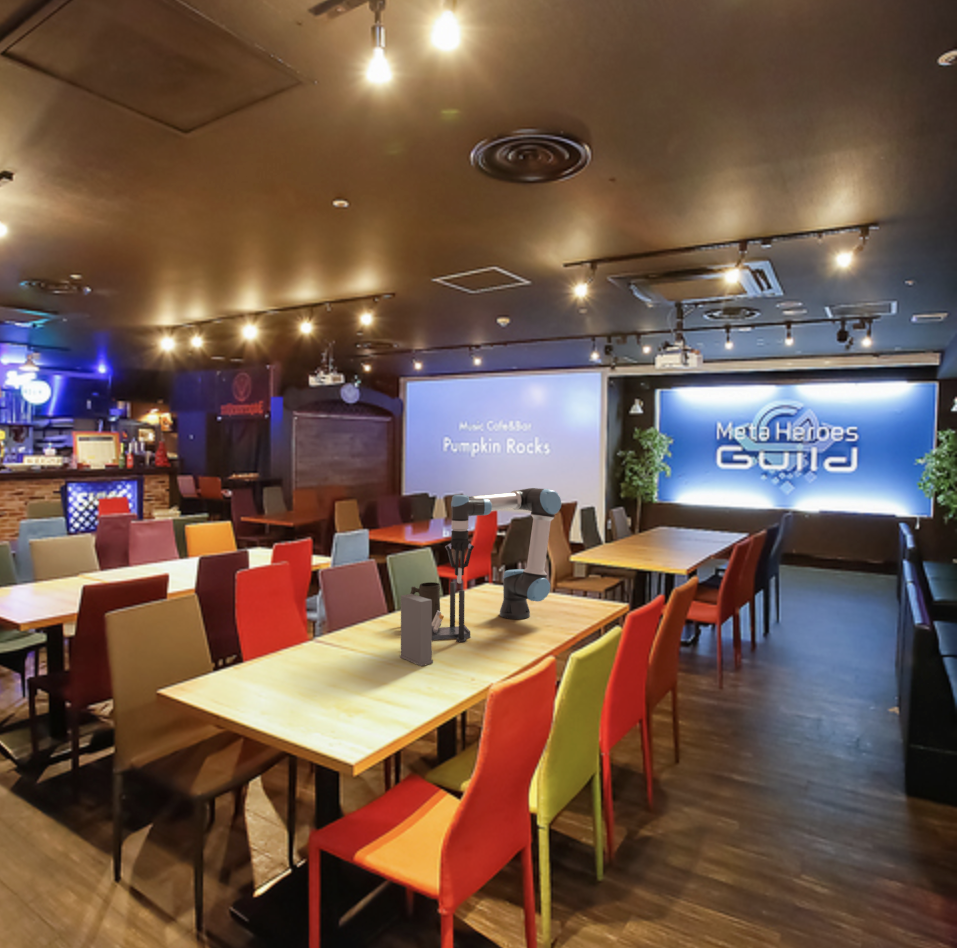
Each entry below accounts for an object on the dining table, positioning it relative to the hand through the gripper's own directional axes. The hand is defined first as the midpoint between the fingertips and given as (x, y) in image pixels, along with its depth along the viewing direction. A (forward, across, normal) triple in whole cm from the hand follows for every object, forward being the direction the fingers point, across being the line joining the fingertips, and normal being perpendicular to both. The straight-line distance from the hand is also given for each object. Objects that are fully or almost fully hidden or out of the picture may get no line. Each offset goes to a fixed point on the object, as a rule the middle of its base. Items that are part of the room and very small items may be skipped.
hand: (459, 582), depth 288 cm
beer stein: (+24, +12, -21) cm, 34 cm away
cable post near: (+24, +1, +8) cm, 25 cm away
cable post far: (+24, +1, -10) cm, 26 cm away
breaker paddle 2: (+21, +11, 0) cm, 23 cm away
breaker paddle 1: (+21, +11, -6) cm, 24 cm away
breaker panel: (+24, +8, -2) cm, 25 cm away
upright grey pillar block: (+24, +24, +29) cm, 45 cm away
